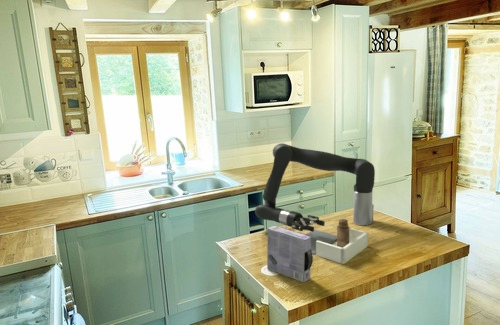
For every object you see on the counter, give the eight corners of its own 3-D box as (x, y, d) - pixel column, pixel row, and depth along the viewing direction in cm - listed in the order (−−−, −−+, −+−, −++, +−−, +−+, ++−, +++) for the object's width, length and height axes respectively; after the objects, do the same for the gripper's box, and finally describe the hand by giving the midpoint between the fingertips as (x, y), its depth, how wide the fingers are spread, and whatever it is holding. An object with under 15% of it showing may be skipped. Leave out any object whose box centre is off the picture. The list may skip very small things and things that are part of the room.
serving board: (314, 231, 186) (314, 229, 186) (339, 238, 176) (339, 236, 176) (287, 247, 170) (287, 244, 170) (313, 255, 161) (313, 253, 161)
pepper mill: (343, 247, 166) (344, 217, 163) (351, 251, 162) (352, 221, 159) (334, 249, 164) (334, 219, 161) (342, 254, 160) (342, 223, 157)
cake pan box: (313, 279, 143) (313, 236, 139) (306, 284, 139) (305, 240, 135) (274, 264, 155) (272, 224, 151) (266, 269, 152) (265, 228, 148)
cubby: (341, 239, 175) (341, 225, 174) (367, 247, 166) (368, 232, 165) (316, 256, 160) (315, 241, 159) (343, 265, 151) (343, 249, 150)
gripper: (281, 215, 175) (310, 223, 164) (299, 207, 185) (327, 214, 174) (281, 230, 176) (310, 239, 165) (299, 221, 186) (327, 229, 175)
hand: (319, 226), depth 169 cm, fingers open, 8 cm apart
